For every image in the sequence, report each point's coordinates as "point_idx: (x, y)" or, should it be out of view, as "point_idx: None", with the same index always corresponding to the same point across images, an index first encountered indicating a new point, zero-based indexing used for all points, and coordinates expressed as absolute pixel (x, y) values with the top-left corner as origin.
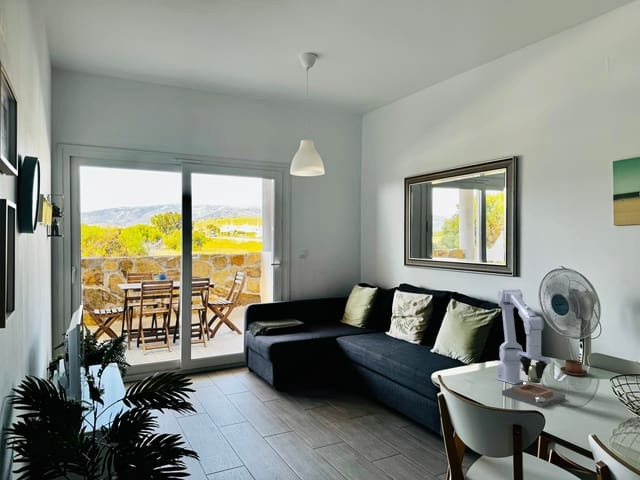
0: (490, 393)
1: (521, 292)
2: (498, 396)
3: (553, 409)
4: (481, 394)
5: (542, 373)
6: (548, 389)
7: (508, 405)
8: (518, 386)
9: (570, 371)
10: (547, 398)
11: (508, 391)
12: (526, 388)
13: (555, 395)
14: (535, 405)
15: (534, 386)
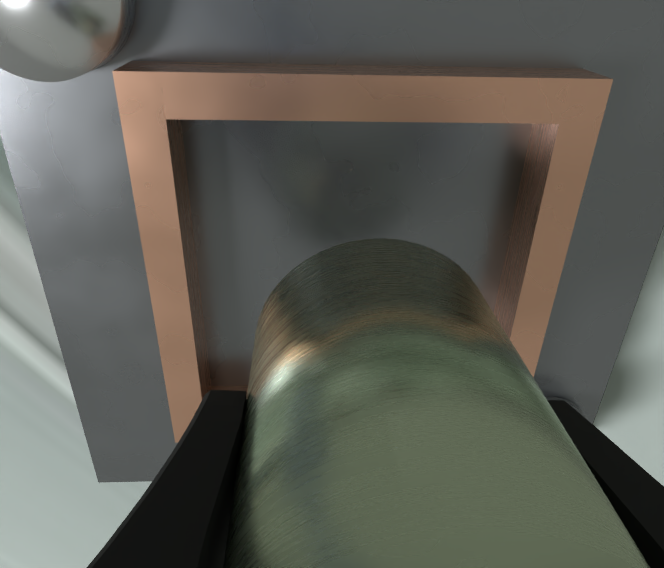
0: (23, 482)
1: None
2: (127, 486)
3: (646, 381)
4: (17, 549)
5: (642, 491)
6: (537, 101)
7: None
8: (52, 201)
9: None
10: (576, 316)
11: (156, 458)
12: (189, 194)
13: (635, 110)
14: None
15: (273, 118)
